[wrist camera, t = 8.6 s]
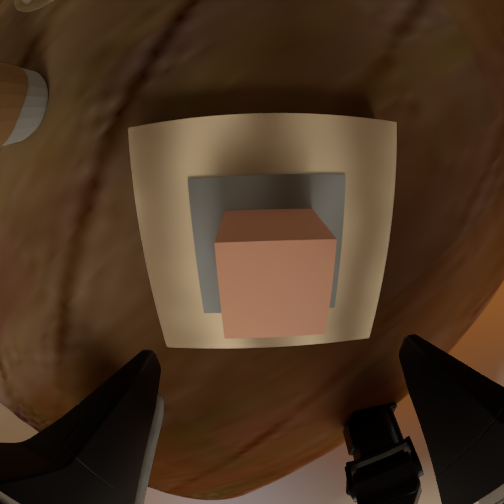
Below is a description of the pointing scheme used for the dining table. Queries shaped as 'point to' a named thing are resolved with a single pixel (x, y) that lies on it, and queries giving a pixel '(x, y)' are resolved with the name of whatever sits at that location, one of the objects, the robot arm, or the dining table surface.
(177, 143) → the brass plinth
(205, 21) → the dining table surface
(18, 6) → the tableware set
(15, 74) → the coffee cup
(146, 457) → the hip flask
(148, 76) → the dining table surface
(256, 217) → the terracotta cube
